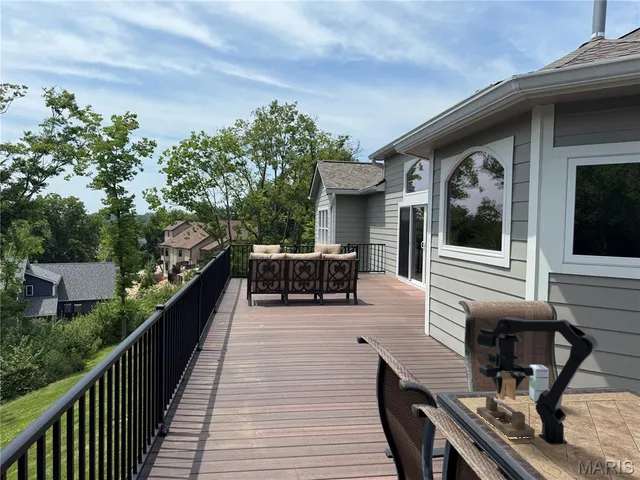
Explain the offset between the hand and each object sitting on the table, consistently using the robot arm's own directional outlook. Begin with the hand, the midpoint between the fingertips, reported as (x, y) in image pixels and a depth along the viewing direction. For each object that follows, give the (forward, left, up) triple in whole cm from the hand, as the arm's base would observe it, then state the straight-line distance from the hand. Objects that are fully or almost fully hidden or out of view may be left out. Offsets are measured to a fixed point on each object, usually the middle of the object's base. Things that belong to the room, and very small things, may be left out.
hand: (505, 393), depth 159 cm
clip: (0, 0, -2) cm, 2 cm away
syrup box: (+20, -29, -12) cm, 37 cm away
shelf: (-1, +1, -11) cm, 12 cm away
